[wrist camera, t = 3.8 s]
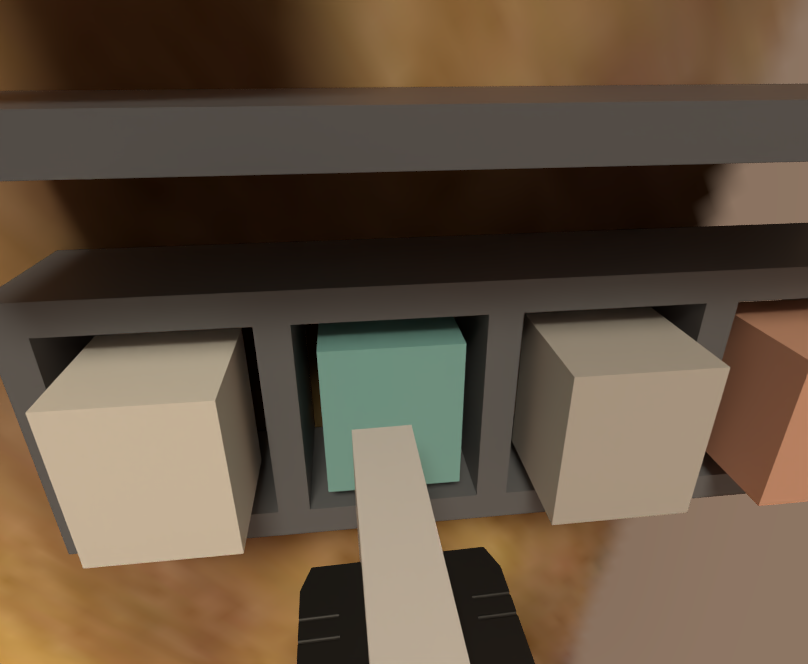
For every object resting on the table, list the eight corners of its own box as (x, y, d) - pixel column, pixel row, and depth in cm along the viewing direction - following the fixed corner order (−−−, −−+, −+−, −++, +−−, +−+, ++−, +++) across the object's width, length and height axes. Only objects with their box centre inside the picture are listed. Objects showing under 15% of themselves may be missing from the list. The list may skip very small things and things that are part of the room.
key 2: (329, 418, 21) (328, 491, 17) (320, 297, 18) (316, 352, 15) (438, 411, 21) (459, 481, 17) (441, 291, 19) (466, 344, 15)
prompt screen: (23, 137, 16) (-297, 206, 8) (9, 90, 15) (-350, 113, 7) (865, 123, 19) (1269, 163, 11) (879, 83, 18) (1316, 93, 10)
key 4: (682, 427, 20) (758, 505, 16) (716, 303, 18) (811, 361, 14) (787, 420, 20) (883, 494, 17) (833, 297, 18) (954, 352, 15)
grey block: (511, 441, 19) (551, 525, 16) (524, 313, 17) (574, 377, 14) (623, 432, 20) (687, 512, 16) (650, 306, 18) (730, 367, 14)
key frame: (119, 462, 21) (68, 554, 17) (57, 250, 17) (-27, 304, 13) (765, 414, 24) (852, 484, 20) (831, 221, 20) (955, 260, 16)
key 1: (133, 469, 18) (83, 568, 14) (95, 335, 16) (25, 412, 12) (261, 460, 18) (243, 553, 15) (241, 328, 16) (214, 400, 13)
